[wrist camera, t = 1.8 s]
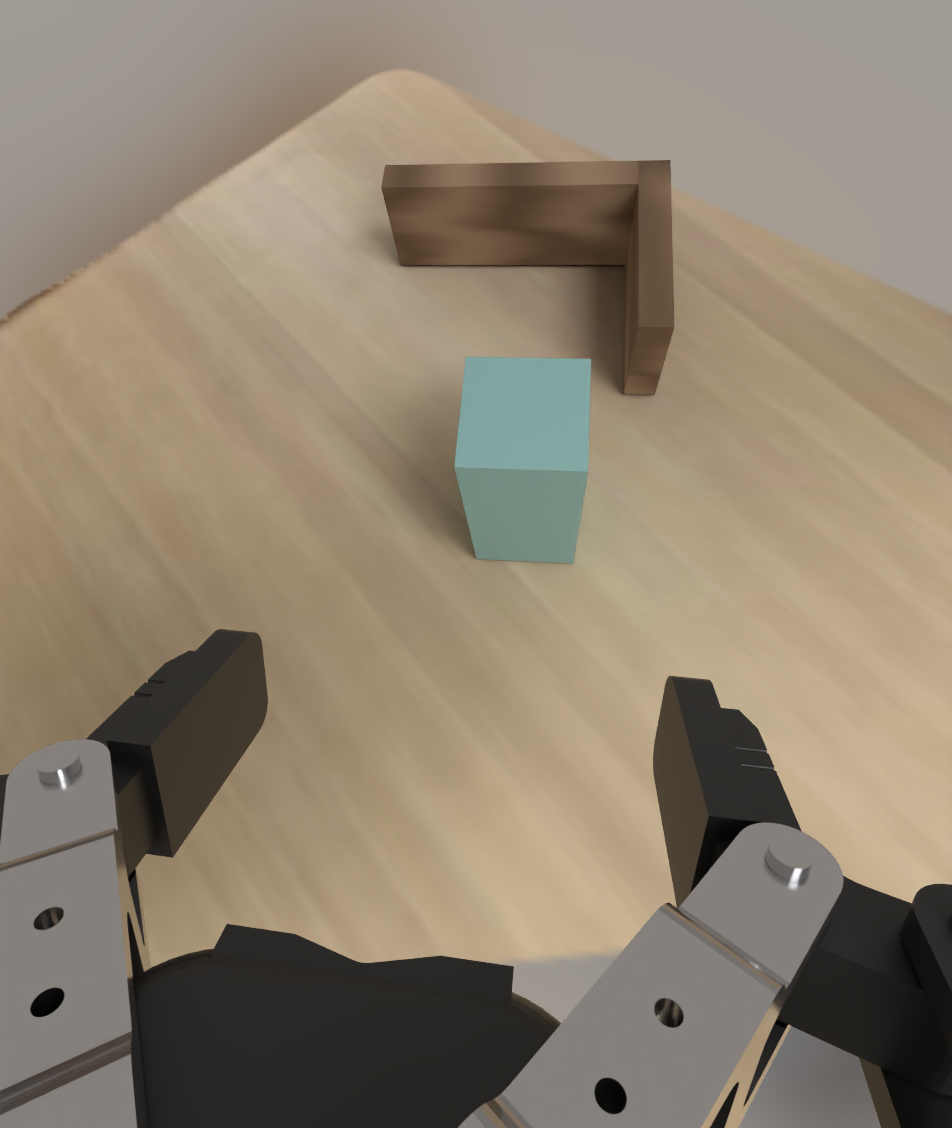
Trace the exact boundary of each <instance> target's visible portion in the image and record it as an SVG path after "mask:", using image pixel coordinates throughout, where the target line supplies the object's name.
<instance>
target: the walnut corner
mask: <svg viewBox="0 0 952 1128" xmlns="http://www.w3.org/2000/svg"><path fill="white" fill-rule="evenodd" d="M381 188H382V192H383V196H384V200H385V204H386V208H387V212H388V216H389V220H390V224H391V228H392V232H393V236H394V240H395V244H396V248H397V252H398V256H399V260H400V264H401V265H625V335H624V394H639V395H655V391H656V388H657V384H658V381H659V378H660V374H661V371H662V367H663V364H664V360H665V357H666V354H667V350H668V347H669V343H670V340H671V336H672V333H673V330H674V297H673V254H672V211H671V169H670V160H663V161H662V160H660V161H603V162H546V163H489V164H433V165H385V170H384V176H383V181H382V187H381Z"/></svg>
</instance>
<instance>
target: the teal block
mask: <svg viewBox="0 0 952 1128" xmlns="http://www.w3.org/2000/svg"><path fill="white" fill-rule="evenodd" d="M590 381H591V359H569V358H504V357H466V360H465V370H464V379H463V389H462V398H461V408H460V417H459V427H458V436H457V446H456V456H455V465H454V468H455V472H456V476H457V480H458V485H459V489H460V493H461V497H462V501H463V505H464V510H465V514H466V518H467V522H468V526H469V531H470V535H471V539H472V543H473V547H474V551H475V556H476V559H488V560H509V561H530V562H550V563H571V564H573V561H574V555H575V549H576V542H577V536H578V530H579V524H580V518H581V512H582V505H583V499H584V493H585V487H586V481H587V474H588V452H589V417H590Z"/></svg>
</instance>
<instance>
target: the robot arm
mask: <svg viewBox="0 0 952 1128" xmlns="http://www.w3.org/2000/svg"><path fill="white" fill-rule="evenodd" d="M267 704H268V696H267V687H266V677H265V668H264V658H263V649H262V642H261V638H260V636H259V635H258V634H257V633H254V632H244V631H234V630H224V629H219V630H217V631H215V632H214V633H213V634H212V635H211V636H210V637H209V638H208V639H207V640H206V641H205V642H204V643H203V644H202V645H201V646H200V647H199V648H198V649H197V650H196V651H188V652H186V653H184V654H182V655H180V656H178V657H176V658H175V659H173V660H171V661H169V662H167V663H165V664H164V665H163V666H162V667H161V668H160V669H159V670H158V671H157V672H156V673H155V674H154V675H152V676H151V677H150V678H149V679H148V683H144V684H143V685H142V686H141V687H140V688H139V689H138V690H137V691H136V692H135V694H134V696H131V697H129V698H128V699H127V700H126V701H125V702H124V703H123V704H122V705H121V706H120V707H119V708H118V709H117V710H116V711H115V712H114V713H113V714H112V715H111V716H110V717H109V718H107V719H106V720H105V721H104V722H103V723H102V724H101V725H100V726H99V727H98V728H97V729H96V730H95V731H94V732H93V733H92V734H91V735H90V736H89V737H88V738H87V739H76V740H68V741H63V742H59V743H56V744H52V745H50V746H47V747H44V748H42V749H40V750H38V751H36V752H34V753H32V754H31V755H29V756H27V757H26V758H25V759H23V760H22V761H21V762H19V763H18V764H17V765H16V766H15V767H14V769H13V770H12V771H11V772H10V774H8V775H0V1128H738V1127H739V1125H740V1123H741V1121H742V1119H743V1117H744V1115H745V1113H746V1111H747V1109H748V1107H749V1105H750V1103H751V1101H752V1099H753V1098H754V1096H755V1094H756V1092H757V1090H758V1088H759V1086H760V1084H761V1082H762V1080H763V1078H764V1076H765V1074H766V1073H767V1071H768V1069H769V1067H770V1065H771V1063H772V1061H773V1059H774V1057H775V1056H776V1053H777V1052H778V1050H779V1048H780V1046H781V1044H782V1042H783V1040H784V1038H785V1036H786V1034H787V1033H788V1031H789V1029H790V1027H791V1026H793V1027H795V1028H797V1029H799V1030H801V1031H804V1032H806V1033H808V1034H810V1035H812V1036H815V1037H816V1038H819V1039H821V1040H823V1041H825V1042H827V1043H829V1044H831V1045H834V1046H836V1047H838V1048H840V1049H842V1050H844V1051H847V1052H849V1053H851V1054H853V1055H855V1056H857V1057H859V1059H860V1062H861V1065H862V1068H863V1072H864V1075H865V1078H866V1081H867V1084H868V1087H869V1090H870V1093H871V1097H872V1100H873V1103H874V1106H875V1109H876V1112H877V1115H878V1118H879V1122H880V1125H881V1128H952V885H948V884H932V885H928V886H925V887H923V888H921V889H920V890H919V891H918V892H917V893H916V895H915V897H914V900H913V902H912V904H911V903H909V902H906V901H903V900H901V899H898V898H895V897H892V896H890V895H887V894H884V893H882V892H879V891H876V890H873V889H871V888H868V887H866V886H863V885H861V884H858V883H856V882H854V881H852V880H850V879H848V878H846V877H845V876H843V874H842V871H841V868H840V866H839V864H838V863H837V861H836V859H835V858H834V857H833V855H832V854H831V853H830V852H829V851H828V850H827V849H826V848H825V847H824V846H823V845H822V844H820V843H819V842H818V841H816V840H815V839H814V838H812V837H810V836H809V835H807V834H805V833H803V832H802V831H801V829H800V826H799V824H798V822H797V819H796V817H795V815H794V812H793V810H792V808H791V805H790V803H789V801H788V798H787V796H786V794H785V791H784V789H783V786H782V784H781V782H780V779H779V777H778V775H777V772H776V771H774V765H773V763H772V761H771V758H770V756H769V754H768V753H767V749H766V746H765V744H764V742H763V739H762V737H761V735H760V732H759V730H758V728H757V727H756V726H755V725H754V724H753V723H752V722H751V721H750V720H749V719H747V718H746V717H745V716H744V715H743V714H742V713H741V712H740V711H739V710H735V709H726V708H721V707H720V704H719V701H718V698H717V696H716V693H715V690H714V687H713V684H712V682H711V681H710V680H706V679H696V678H686V677H676V676H669V677H668V678H667V681H666V684H665V689H664V695H663V700H662V705H661V711H660V716H659V721H658V727H657V732H656V738H655V744H654V754H653V771H654V779H655V785H656V790H657V796H658V802H659V807H660V813H661V819H662V825H663V830H664V836H665V842H666V847H667V853H668V859H669V864H670V870H671V876H672V882H673V887H674V893H675V899H676V904H677V908H676V907H674V906H673V905H672V904H670V903H666V904H664V905H662V906H661V907H660V908H659V909H658V910H657V911H656V912H655V913H654V914H653V915H652V917H651V918H650V919H649V920H648V921H647V922H646V924H645V925H644V926H643V927H642V928H641V930H640V931H639V932H638V933H637V934H636V936H635V937H634V938H633V939H632V940H631V941H630V943H629V944H628V945H627V946H626V947H625V949H624V950H623V951H622V952H621V953H620V955H619V956H618V957H617V958H616V959H615V961H614V962H613V963H612V964H611V965H610V966H609V968H608V969H607V970H606V971H605V973H604V974H603V975H602V976H601V977H600V978H599V979H598V981H597V982H596V983H595V984H594V985H593V987H592V988H591V989H590V990H589V991H588V992H587V994H586V995H585V996H584V997H583V998H582V1000H581V1001H580V1002H579V1003H578V1004H577V1006H576V1007H575V1008H574V1009H573V1010H572V1012H571V1013H570V1014H569V1015H568V1016H567V1017H566V1019H565V1020H564V1021H563V1022H562V1023H560V1022H559V1021H558V1020H557V1019H555V1018H554V1017H553V1016H551V1015H550V1014H549V1013H548V1012H546V1011H545V1010H544V1009H542V1008H541V1007H539V1006H538V1005H536V1004H534V1003H532V1002H531V1001H529V1000H527V999H526V998H523V997H521V996H519V995H517V994H515V993H513V992H512V980H513V968H514V967H513V966H506V965H499V964H493V963H486V962H479V961H472V960H466V959H459V958H452V957H445V956H434V957H424V958H414V959H405V960H395V961H385V962H375V963H360V962H357V961H354V960H352V959H349V958H347V957H345V956H343V955H340V954H338V953H336V952H334V951H331V950H329V949H327V948H325V947H323V946H320V945H318V944H316V943H314V942H311V941H309V940H307V939H305V938H303V937H300V936H298V935H296V934H291V933H284V932H277V931H271V930H264V929H257V928H250V927H244V926H237V925H230V924H227V925H226V927H225V929H224V931H223V932H222V934H221V936H220V938H219V940H218V942H217V944H216V946H215V948H214V949H207V950H202V951H198V952H193V953H189V954H186V955H183V956H180V957H176V958H173V959H170V960H168V961H166V962H163V963H161V964H159V965H156V966H154V967H152V968H151V967H150V960H149V952H148V944H147V937H146V929H145V921H144V913H143V905H142V898H141V890H140V882H139V876H138V872H137V868H136V867H137V865H138V864H139V863H140V861H141V860H142V858H143V857H144V856H145V854H152V855H159V856H166V857H173V856H174V855H175V854H176V852H177V851H178V849H179V848H180V846H181V845H182V843H183V842H184V840H185V839H186V837H187V836H188V834H189V833H190V832H191V830H192V829H193V827H194V826H195V824H196V823H197V821H198V820H199V818H200V817H201V815H202V814H203V812H204V811H205V810H206V808H207V807H208V805H209V804H210V802H211V801H212V799H213V798H214V796H215V795H216V793H217V792H218V790H219V789H220V788H221V786H222V785H223V783H224V782H225V780H226V779H227V777H228V776H229V774H230V773H231V771H232V770H233V768H234V767H235V766H236V764H237V763H238V761H239V760H240V758H241V757H242V755H243V754H244V752H245V751H246V749H247V748H248V746H249V745H250V744H251V742H252V741H253V739H254V738H255V736H256V735H257V733H258V732H259V730H260V729H261V727H262V725H263V722H264V719H265V716H266V712H267Z"/></svg>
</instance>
